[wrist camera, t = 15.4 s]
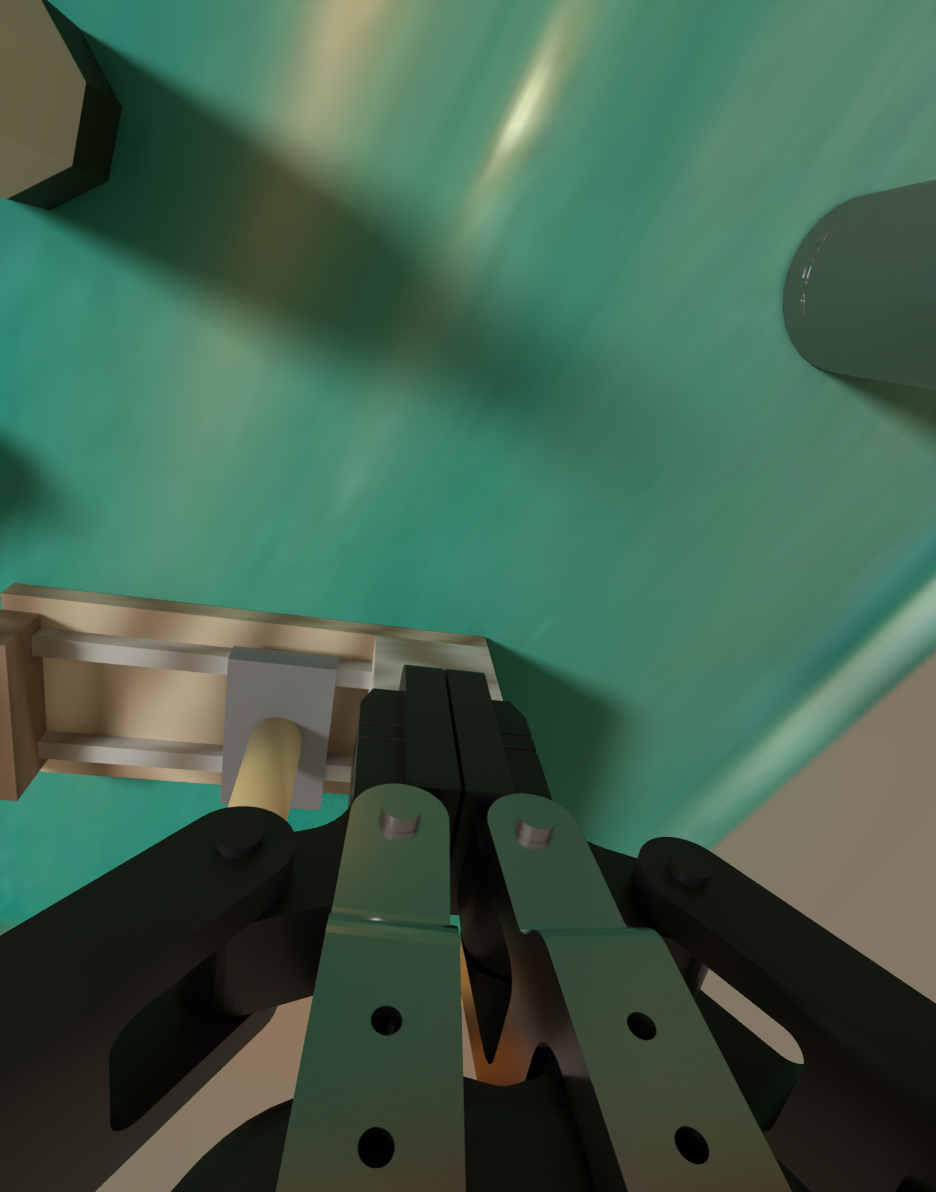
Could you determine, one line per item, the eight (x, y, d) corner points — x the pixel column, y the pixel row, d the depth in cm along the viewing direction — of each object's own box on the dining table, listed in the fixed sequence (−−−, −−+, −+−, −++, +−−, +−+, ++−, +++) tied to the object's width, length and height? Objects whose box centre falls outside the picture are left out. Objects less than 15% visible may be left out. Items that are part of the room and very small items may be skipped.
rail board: (484, 637, 45) (510, 728, 36) (453, 790, 50) (469, 908, 40) (13, 583, 41) (-103, 671, 31) (26, 757, 45) (-73, 881, 35)
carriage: (338, 656, 41) (325, 753, 33) (322, 793, 45) (306, 913, 36) (233, 645, 40) (190, 742, 32) (225, 786, 44) (185, 908, 35)
